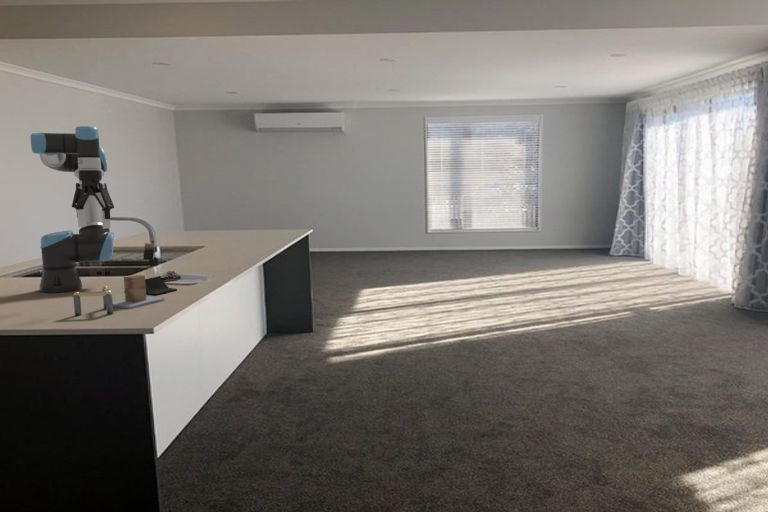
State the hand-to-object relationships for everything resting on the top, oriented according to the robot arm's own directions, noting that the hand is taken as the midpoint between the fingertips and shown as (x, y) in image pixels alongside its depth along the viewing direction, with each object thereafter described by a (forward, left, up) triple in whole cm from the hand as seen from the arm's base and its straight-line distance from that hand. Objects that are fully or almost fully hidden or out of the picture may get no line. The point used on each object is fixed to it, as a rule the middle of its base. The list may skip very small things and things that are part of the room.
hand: (94, 227), depth 220 cm
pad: (+19, 0, -27) cm, 33 cm away
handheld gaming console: (+11, +18, -27) cm, 34 cm away
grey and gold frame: (+21, -16, -27) cm, 37 cm away
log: (-7, +39, -27) cm, 49 cm away
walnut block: (+19, +1, -26) cm, 32 cm away
